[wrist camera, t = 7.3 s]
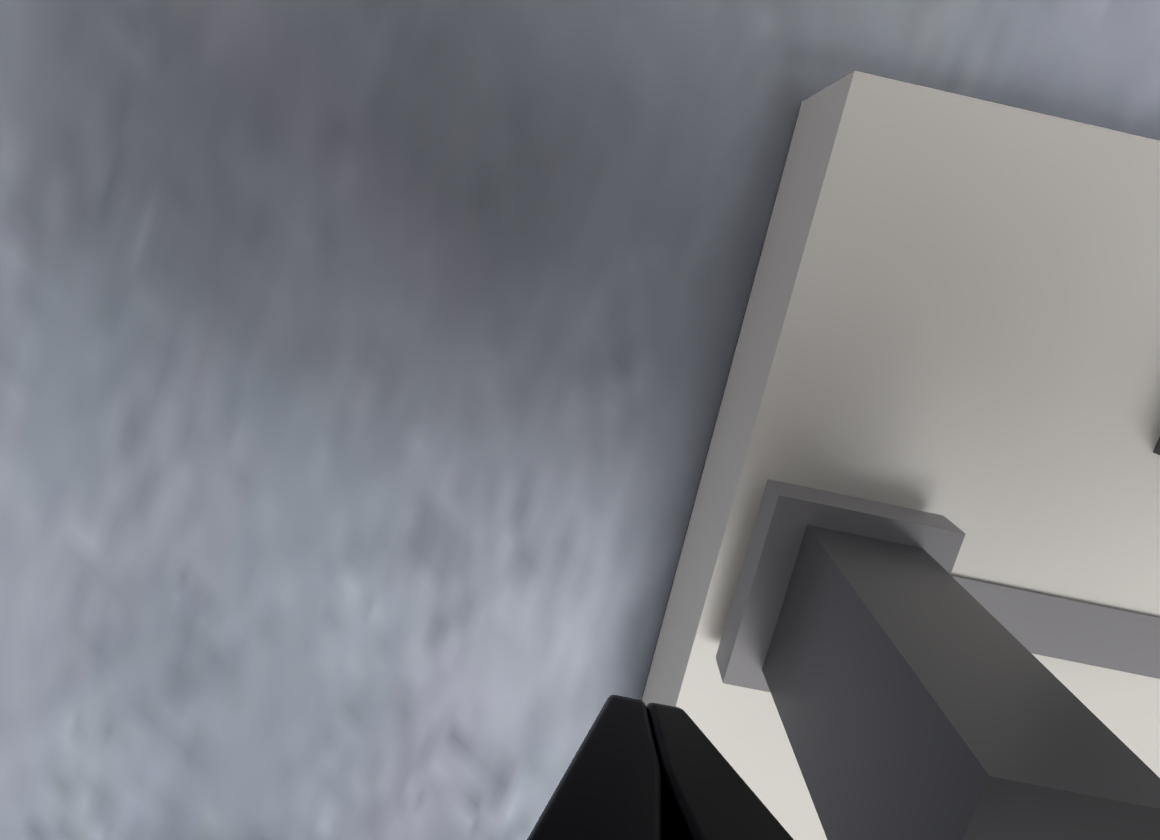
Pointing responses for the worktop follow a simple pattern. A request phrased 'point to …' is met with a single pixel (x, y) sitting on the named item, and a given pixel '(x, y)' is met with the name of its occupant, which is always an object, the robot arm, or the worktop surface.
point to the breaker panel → (947, 393)
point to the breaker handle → (915, 686)
